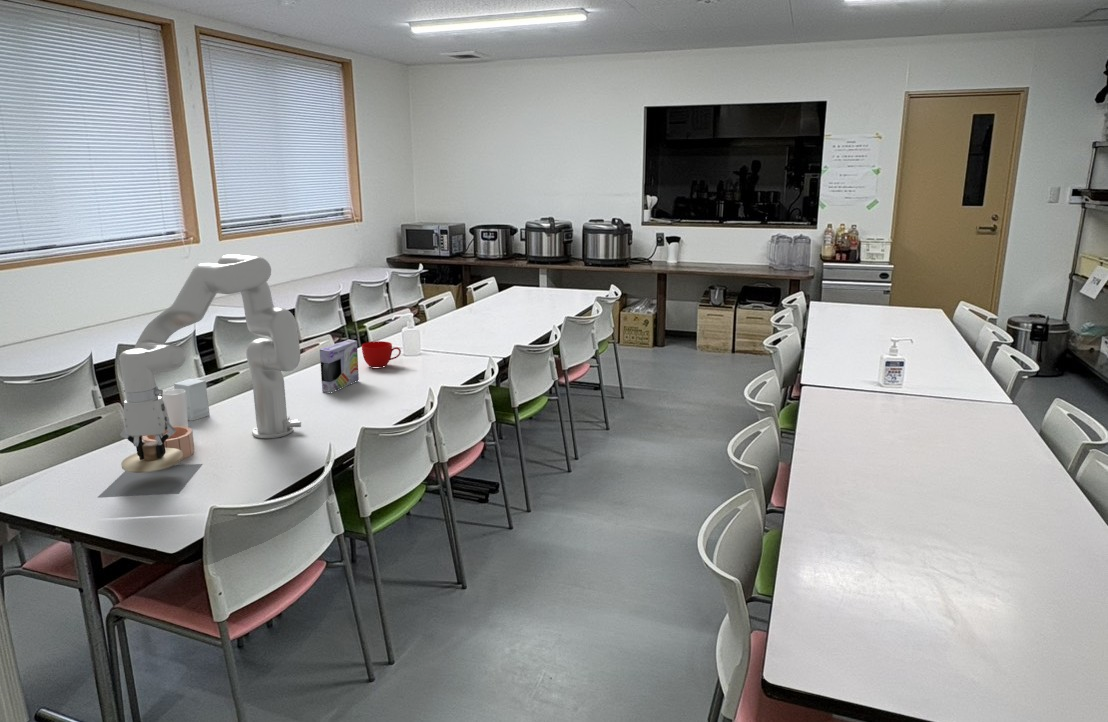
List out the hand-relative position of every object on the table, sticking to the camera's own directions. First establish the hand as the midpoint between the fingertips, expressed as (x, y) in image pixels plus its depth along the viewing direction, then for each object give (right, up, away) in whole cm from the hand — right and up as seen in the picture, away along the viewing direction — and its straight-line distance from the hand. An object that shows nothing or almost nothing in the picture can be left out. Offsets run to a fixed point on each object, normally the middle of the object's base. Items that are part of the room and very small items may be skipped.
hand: (152, 456), depth 198 cm
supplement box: (-15, +7, +53) cm, 56 cm away
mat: (0, -7, +1) cm, 7 cm away
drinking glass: (-11, +2, +35) cm, 37 cm away
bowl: (-5, -2, +19) cm, 20 cm away
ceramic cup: (+35, +24, +120) cm, 127 cm away
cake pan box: (+26, +16, +89) cm, 94 cm away
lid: (0, -1, 0) cm, 1 cm away
